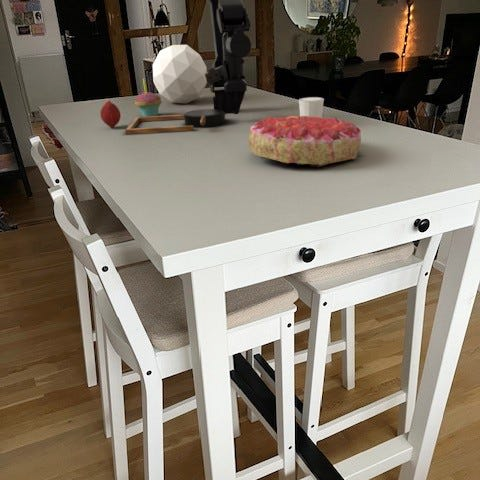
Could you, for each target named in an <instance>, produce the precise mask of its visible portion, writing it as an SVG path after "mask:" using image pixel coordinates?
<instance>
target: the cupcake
mask: <svg viewBox="0 0 480 480" xmlns="http://www.w3.org/2000/svg"><path fill="white" fill-rule="evenodd" d="M142 82H143V89H144V92H142V93H140V94H138V95H137V96H136V97H135V99H134V105H135V106H137V107H138V109H139V111H140V113H141V115H142V117H148V116H158V115H159V108H160V105H161V104H162V98H161V97H160V96H161V95H160V96H159V94H157V93H153V92H148V90H147V85H146V79H145V78H144V76H142Z"/></svg>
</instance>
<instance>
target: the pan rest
mask: <svg viewBox="0 0 480 480" xmlns="http://www.w3.org/2000/svg"><path fill="white" fill-rule="evenodd" d="M175 120H178V121H179V120H185V118H184V114H169V115H168V114H167V115H157V116H148V117H143V116H136V117H134V119H133V120H132V121H131V122H130V123H129V125H128V126H127V127H126V128H125V135H136V134H157V133H174V132H175V133H176V132H192V131H194V129H195V128H194V127H193V125H191V126H186V125H177V126H175V125H174V126H157V127H141V128H139V127H138V128H136V127H137V126H138V124H139V123H140V122H142V123H143V122H159V121H175Z"/></svg>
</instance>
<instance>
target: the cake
mask: <svg viewBox="0 0 480 480" xmlns="http://www.w3.org/2000/svg"><path fill="white" fill-rule="evenodd" d="M361 133H362V132H361V129H360V128H359V127H358V126H356V124H354V123H352V122H349V121H346V120H344V119H341V120H339V119H338V118H337V117H322V118H321V117H307V116H301V117H300V115H299V116H298V115H287V116H285V117H284V116H276V117H273V116H272V117H271V116H267V117H266V118H264V119H261V120H259V121H256V122H255V123H254V124H251V125H250V129H249V134H248V143H247V144H248V146H247V147H248V149H250V151H251V152H252V154H253V155H255V156H258V157H261V158H262V157H263V158H265V159H269V160H274V161H278V162H280V163H284V164H285V165H288V164H292V163H294V164H296V165H297V166H298V167H300V166H302V165H309V167H312V168H320V167H323V166H326V165H328V164H335V163H339V162H344V161H348V160H356V159H357V158H358V155H359V151H360V147H361V143H362V135H361Z"/></svg>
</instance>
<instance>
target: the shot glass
mask: <svg viewBox="0 0 480 480" xmlns="http://www.w3.org/2000/svg"><path fill="white" fill-rule="evenodd" d="M324 101H325V98H323V97H319V96H307V97H302V98H299V99H298V108H299V117H301V116H307V117H321V118H323V111H324V110H323V109H324Z"/></svg>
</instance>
